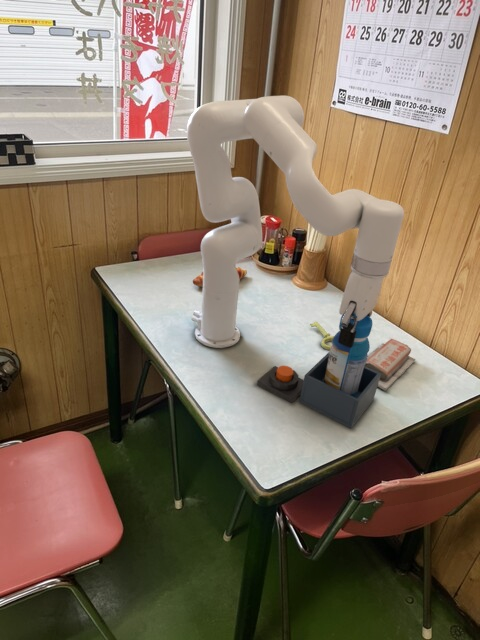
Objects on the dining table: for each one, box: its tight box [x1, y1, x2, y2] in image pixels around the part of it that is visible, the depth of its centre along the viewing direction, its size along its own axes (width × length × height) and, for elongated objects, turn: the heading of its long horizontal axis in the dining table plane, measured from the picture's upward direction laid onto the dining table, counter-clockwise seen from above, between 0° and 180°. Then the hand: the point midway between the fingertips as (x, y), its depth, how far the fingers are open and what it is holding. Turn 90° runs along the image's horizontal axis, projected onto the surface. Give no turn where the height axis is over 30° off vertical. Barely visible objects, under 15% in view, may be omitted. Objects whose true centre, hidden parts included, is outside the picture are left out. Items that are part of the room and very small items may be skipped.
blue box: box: [299, 351, 381, 429], centre depth 112 cm, size 13×13×8 cm
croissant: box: [192, 266, 248, 288], centre depth 160 cm, size 21×10×8 cm, turn 126°
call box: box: [256, 365, 304, 404], centre depth 117 cm, size 10×8×3 cm
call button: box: [276, 365, 294, 382], centre depth 115 cm, size 4×4×2 cm
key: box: [309, 321, 335, 351], centre depth 136 cm, size 7×12×2 cm, turn 43°
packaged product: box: [364, 338, 416, 392], centre depth 126 cm, size 18×5×10 cm
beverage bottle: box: [324, 314, 373, 397], centre depth 107 cm, size 8×8×20 cm
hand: (352, 337), depth 105 cm, fingers closed on beverage bottle, 6 cm apart
